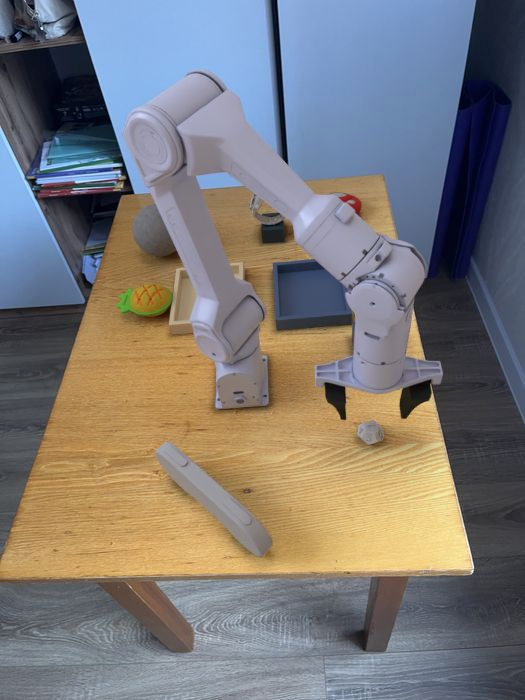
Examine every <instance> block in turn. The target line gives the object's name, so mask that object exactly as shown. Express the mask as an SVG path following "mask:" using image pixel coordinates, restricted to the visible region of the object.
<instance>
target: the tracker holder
mask: <svg viewBox="0 0 525 700" xmlns="http://www.w3.org/2000/svg"><path fill="white" fill-rule="evenodd" d="M326 195H336V196H337V197H338V198H339V199H340V200H342V201H343V202H344V203H348V204H349V205H350V206H351V207H352V208H353V209H354V210H355V213H356V214H357V215H358V216H359V214H360V212H361V210H362V202H361V200H360V199H359V197H357V196H355V195H352V194H348V193H346V192H341V191H340V192H339V191H338V192H336V191H335V192H330V193H327V194H326Z"/></svg>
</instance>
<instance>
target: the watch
mask: <svg viewBox="0 0 525 700" xmlns="http://www.w3.org/2000/svg"><path fill="white" fill-rule="evenodd" d="M263 203H264V201H263V200H262V199H261V198H259V197H258V196H257V195H255V194H254V193H253V192H252V195H251V199H250V203H249V211H251V216H252V217H253V218H254V220H255V221H256V222H258V223H260V224H261V225H260V226H261V227H260V233H261V240H262V244H272V243H273V244H275V243H276V244H277V243H285V238H286V237H285V234H286V233H285V231H286V230H285V228H286V227H285V220H286V218H285V217H284V216H283V215H281V214H280V213H279V212H265V213H259V212H258V211H259V210H260V209H261V207H262V205H263Z"/></svg>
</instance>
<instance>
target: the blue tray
mask: <svg viewBox="0 0 525 700" xmlns="http://www.w3.org/2000/svg"><path fill="white" fill-rule="evenodd" d="M272 278H273V279H272V280H273V281H272V282H273V299H274V301H273V302H274V319H275V320H274V321H275V327H276V331H285V330H298V329H309V328H323V327H333V326H334V327H335V326H345V325H346V326H347V325H352V323H353V311H352V309H351V308H350V307H349V305H348V303H347V300H346V296H345V293H346V292H348V291H349V290H348V289H347V288H346V287H345V286H344V285H343V284H342V283H341V282H340V281H339V280H337V279H336V278H335V277H334V276H333V275H332V274H331V273H329V272H328V271H327V270H326V269H325V268H324V267H323V266H322V265H320V264H319V263H318V262H317V261H316V260H315V259H314V258H309V259H298V260H287V261H277V262H272Z"/></svg>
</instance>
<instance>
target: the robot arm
mask: <svg viewBox="0 0 525 700" xmlns="http://www.w3.org/2000/svg"><path fill="white" fill-rule="evenodd" d="M125 120H126V121H125V123H124V125H123V128H122V130H121V133H120V134H121V136H122V139H123V141H124V143H125V146H126V147H127V150H128V152H129V154H130V156H131V158H132V160H133V163H134V165H135V167H136V169H137V171H138V174H139V176H140V177H141V180H142V183H143V185H144V186H145V188H147V189H148V191H149V193H150V196H151V197H152V199H153V202H154V204H156V206H157V208H158V211H159V213H160V215H161V217H162V219H163V221H164V224H165V226H166V228H167V230H168V232H169V234H170V237H171V239H172V241H173V243H174V245H175V247H176V252H177V255H178V256H179V258H180V261H181V263H182V264H183V267H185V269H186V271H187V274H188V276H189V278H190V280H191V282H192V284H193V287H194V289H195V291H196V293H197V298H196V301H195V304H194V307H193V310H192V313H191V317H190V323H191V325H192V327H193V330H194V333H193V339H194V342H195V345H196V347H197V348H198V350H199V351H200V352H201V353H202V354H203V355H204V356H205V357H207V358H208V359H210V360H212V361H213V363H214V367H215V387H216V389H215V405H214V406H215V408H216V410H226V409H239V408H240V409H241V408H253V407H266V406H268V405H269V403H270V401H269V400H270V399H269V397H270V396H269V371H268V370H269V369H268V365H269V364H268V356H267V355H264V354H262V348H261V347H262V346H261V341H260V332H261V324H262V323H263V322H264V321H265V319H266V318H267V313H268V311H267V308H266V306H265V304H264V302H263V301H262V299H261V298H260V297H259V295H258V294H257V293H256V291H255V289H254V286H253V284H252V283H251V282H249V281H247V280H246V279H245V280H242V279H238V278H235V276H234V274H233V271H232V269H231V266H230V263H231V262H230V261H229V259H228V256H227V253H226V251H225V248H224V245H223V243H222V240H221V237H220V235H219V233H218V230H217V228H216V224H215V222H214V219H213V217H212V215H211V212H210V208H209V207H208V205H207V202H206V199H205V197H204V194H203V191H202V189H201V186H200V183H199V180H198V178H197V177H199V176H204V175H213V174H220V173H226V174H228V175H229V176H230V177H231V178H233V179H234V180H236V182H238V183H239V184H241V185H242V186H243V187H245V188H246V189H247V190H249V191H250V192H251V193H252V194H253V193H254V194H255V195H257V196H258V197H259V198H261V199H262V200H263V203H265V204H267V205H268V206H270V207H271V208H272V209H274V211H276V212H277V213H280V214H281V215H283V216H284V217H285V219H286V220H288V221H289V222H290V223H291V224H292V229H293V237H294V242H295V244H297V245H298V246H299V247H300V248H301V249H303V250H304V251H305V252H306V253H307V254H308V255H309V256H310V257H311V258H312V259H315V260H316V261H317V262H318V263H319V264H320V265H322V266H323V267H324V268H325V269H326V270H327V271H328V272H329V273H331V274H332V275H333V276H334V277H335V278H336V279H337V280H339V281H340V282H341V283H342V284H343V285H344V286H345V287H346V288H347V289H348V292H346V293H345V296H346V300H347V303H348V305H349V307H350V308H351V309H352V313H353V314H354V316H355V317H354V322H355V333H354V350H353V352H352V353H353V354H352V355H349V356H347V357H344V358H343V357H342V358H340V359H338V360H334V361H331V362H327V363H322V364H314V383H315V385H314V386H315V388H324V397H325V400H326V402H327V404H329V405H331V406H332V407H333V408H334V409H335V410H336V412H337V413H338V415H339V418H340V421H347V408H346V406H347V393H346V389H347V388H349V389H351V390H356V391H360V392H364V393H368V394H372V395H387V394H389V393H392V392H393V393H394V392H396V391H399V390H401V393H400V397H399V404H398V405H399V414H400V419H401V420H407V419H408V417H409V416H410V415H411V413H412V412H413V411H414V410H415V409H416V408H417V407H418V406H420V405H422V404H424V403H428V402H429V401H431V397H432V394H433V390H432V386H431V385H441V383H442V381H443V380H442V379H443V376H444V372H443V368H442V364H441V361H440V360H427V359H422V358H418V357H417V358H416V357H413V356H408V355H407V351H408V344H409V340H410V333H411V329H412V328H411V327H412V321H413V312H414V311H413V310H414V304H415V296H416V295H417V293H418V291H419V290H420V288H421V286H422V285H423V284H424V281H425V279H426V276H427V272H428V266H427V263H426V260H425V258H424V256H423V255H422V254H421V253H420V252H419V250H418V249H417V247H416V246H415V245H413V244H411V243H410V242H407V241H404V240H401V239H395V238H392V237H390V236H389V235H388V234H384V233H380V234H379V233H378V232H377V231H376V230H375V229H374V228H373V227H372V226H371V225H370V224H368V223H367V221H365V219H363V218H362V217H360V216H359V214H358V215H357V214H356V213H355V210H354V209H353V208H352V207H351V206H350V205H349V204H348V203H344V202H343V201H342V200H340V199H339V198H338V197H337V196H336V195H327V194H318V193H315V191H313V189H311V187H309V186H308V184H307V183H306V182H305V181H304V180H303V179H302V178H301V177H300V176H299V175H298V174H297V173H296V172H295V171H294V170H293V169H292V168H291V167H290V165H289V164H288V163H286V162H285V160H284V159H283V158H282V157H281V156H280V155H279V154H278V153H277V151H275V150H274V149H273V148H272V147H271V145H270V144H269V143H268V142H267V141H266V140H265V139H264V138H263V137H262V136H261V135H260V134H259V133H258V132H257V131H256V130H255V129H254V128H253V127H252V126H251V125H250V124H249V122H248V121H247V119H246V116H245V112H244V109H243V105H242V101H241V98H240V96H239V95H238V94H236V93H235V92H233V91H232V90H230V89H229V88H228V87H227V85H226V84H225V82H224V81H222V79H221V78H220V77H219V76H217V74H215V73H213V72H212V71H210V70H207V69H206V68H205V69H204V68H196V69H193V70H191V71H189V72H187V74H185V75H184V77H183V78H182V79H180V80H178V81H177V82H175V83H174V84H172V85H171V86H169V87H168V88H166V89H164V90H163V91H162V92H161V93H159V94H157V95H156V96H155V97H153V98H151V100H148V102H145V103H144V104H143V105H140V106H138V107H136V108H134V109H132V110H131V111H130V112H129V114H128V115H127V117H126V119H125Z"/></svg>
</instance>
